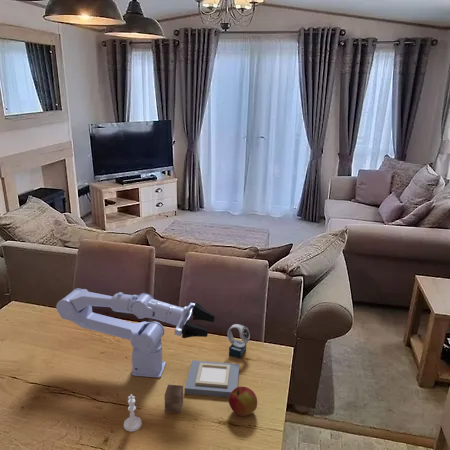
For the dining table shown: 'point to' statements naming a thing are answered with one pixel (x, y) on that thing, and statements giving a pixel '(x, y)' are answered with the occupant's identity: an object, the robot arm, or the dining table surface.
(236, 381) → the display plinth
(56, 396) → the dining table surface
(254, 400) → the apple
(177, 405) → the walnut block
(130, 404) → the chess piece
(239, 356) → the watch
